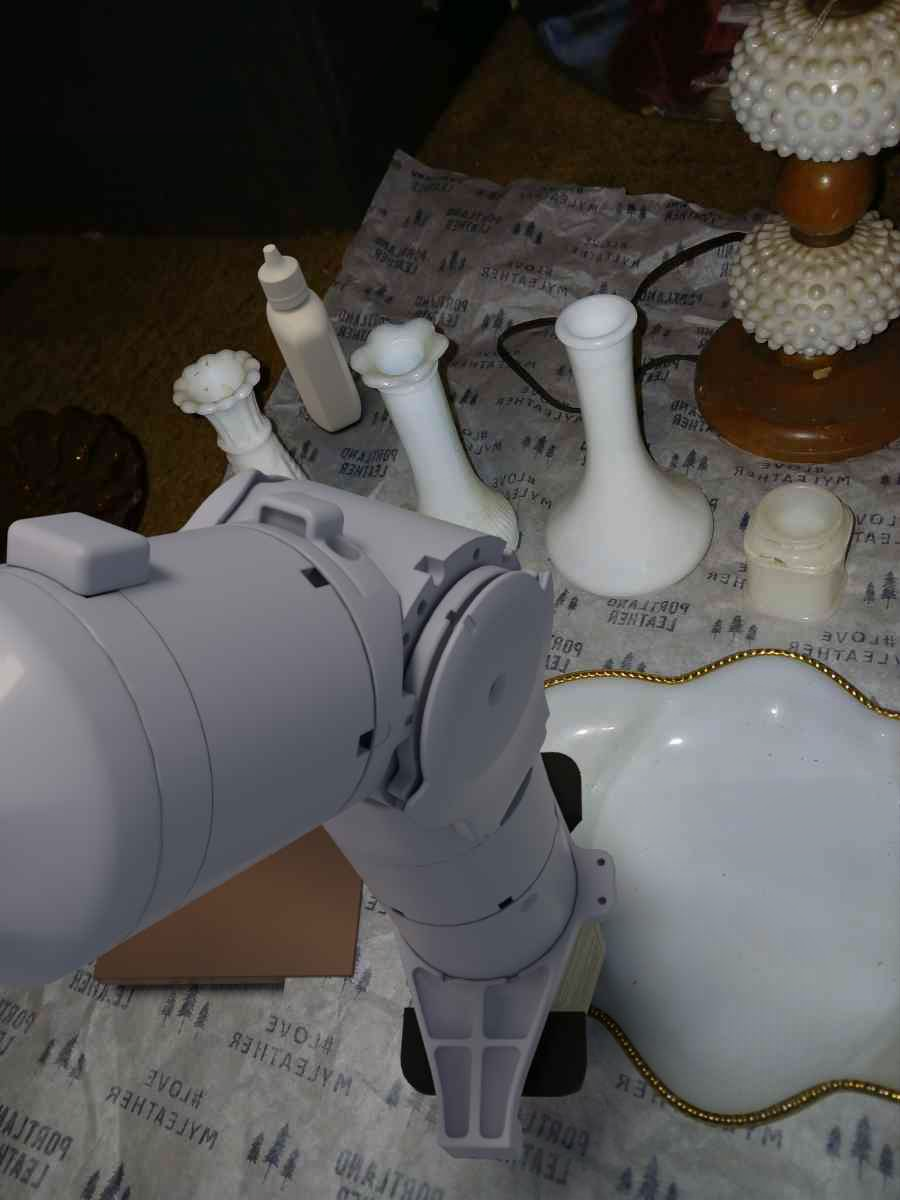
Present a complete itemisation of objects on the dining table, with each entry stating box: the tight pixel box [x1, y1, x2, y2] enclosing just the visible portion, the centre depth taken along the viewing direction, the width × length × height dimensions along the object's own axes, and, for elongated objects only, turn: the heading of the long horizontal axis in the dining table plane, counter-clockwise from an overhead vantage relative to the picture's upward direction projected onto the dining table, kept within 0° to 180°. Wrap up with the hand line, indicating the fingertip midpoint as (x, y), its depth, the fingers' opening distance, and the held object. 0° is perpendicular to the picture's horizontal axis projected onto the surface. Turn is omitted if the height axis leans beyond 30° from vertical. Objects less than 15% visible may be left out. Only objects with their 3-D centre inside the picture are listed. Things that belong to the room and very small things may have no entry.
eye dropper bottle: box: [257, 244, 362, 433], centre depth 64 cm, size 4×6×12 cm
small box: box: [550, 923, 607, 1016], centre depth 38 cm, size 5×4×8 cm
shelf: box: [92, 825, 364, 986], centre depth 50 cm, size 14×12×5 cm
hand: (529, 977), depth 40 cm, fingers closed on small box, 6 cm apart
